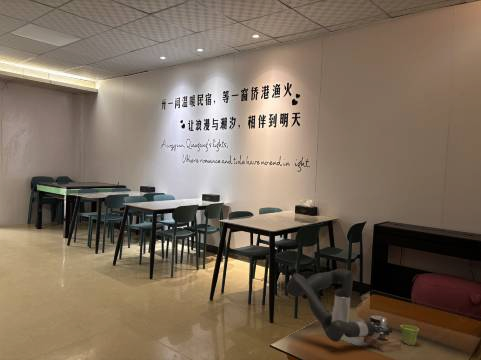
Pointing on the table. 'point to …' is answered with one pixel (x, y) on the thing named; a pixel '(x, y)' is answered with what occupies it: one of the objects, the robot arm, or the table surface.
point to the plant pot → (409, 334)
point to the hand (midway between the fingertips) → (385, 327)
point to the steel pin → (383, 324)
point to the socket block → (383, 343)
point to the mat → (354, 341)
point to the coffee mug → (375, 320)
